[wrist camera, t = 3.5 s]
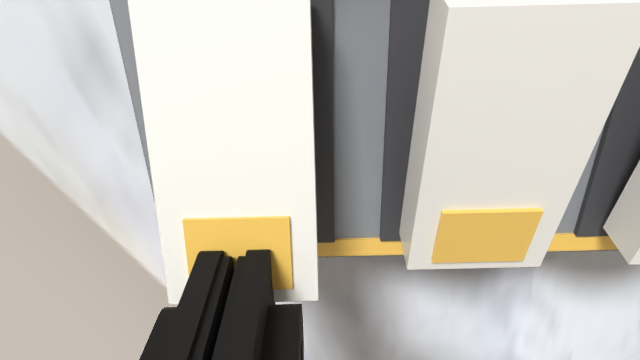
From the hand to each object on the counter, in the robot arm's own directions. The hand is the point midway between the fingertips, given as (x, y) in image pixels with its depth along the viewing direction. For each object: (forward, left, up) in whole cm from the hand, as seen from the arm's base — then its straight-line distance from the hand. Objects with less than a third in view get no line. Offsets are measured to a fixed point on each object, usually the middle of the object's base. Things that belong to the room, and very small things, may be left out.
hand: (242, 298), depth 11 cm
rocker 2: (-3, +6, -1) cm, 7 cm away
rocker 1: (-3, 0, -1) cm, 4 cm away
